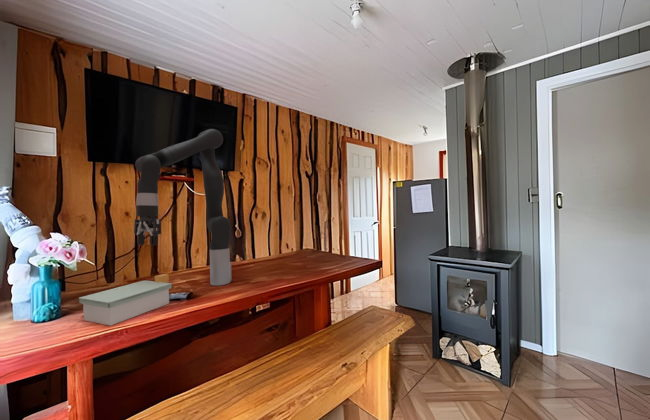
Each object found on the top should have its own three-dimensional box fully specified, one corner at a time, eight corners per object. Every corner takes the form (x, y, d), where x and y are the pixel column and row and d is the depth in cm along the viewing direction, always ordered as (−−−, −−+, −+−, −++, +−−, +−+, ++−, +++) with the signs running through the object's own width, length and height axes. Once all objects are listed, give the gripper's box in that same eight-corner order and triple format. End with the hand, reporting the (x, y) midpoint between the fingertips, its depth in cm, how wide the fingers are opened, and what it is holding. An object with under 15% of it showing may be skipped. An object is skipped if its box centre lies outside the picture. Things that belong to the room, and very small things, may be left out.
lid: (153, 282, 118) (152, 272, 117) (180, 285, 112) (179, 275, 112) (78, 303, 93) (78, 291, 93) (108, 308, 87) (108, 295, 87)
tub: (144, 299, 113) (143, 282, 113) (169, 303, 108) (168, 285, 108) (83, 320, 93) (83, 299, 93) (110, 325, 88) (109, 303, 88)
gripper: (167, 204, 111) (167, 244, 111) (146, 205, 118) (146, 243, 117) (148, 203, 104) (148, 246, 104) (127, 205, 111) (127, 245, 110)
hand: (147, 244), depth 110 cm, fingers open, 8 cm apart
